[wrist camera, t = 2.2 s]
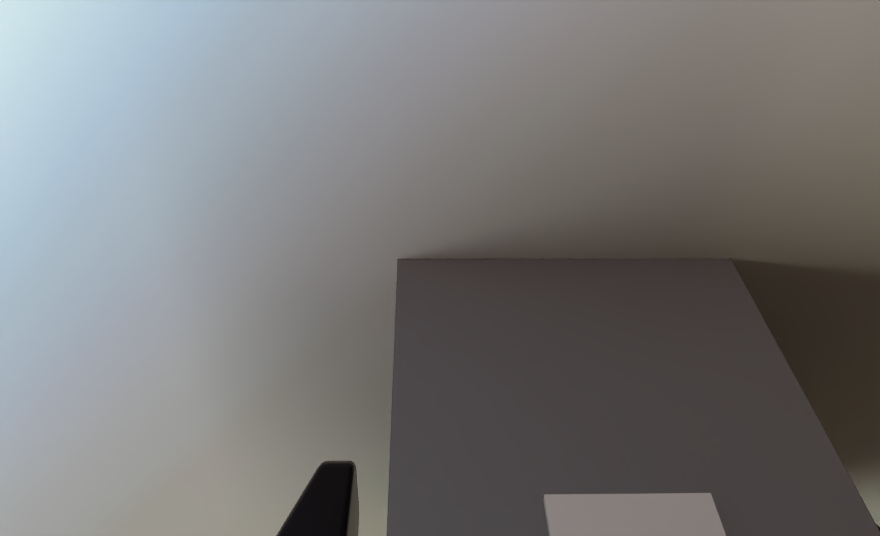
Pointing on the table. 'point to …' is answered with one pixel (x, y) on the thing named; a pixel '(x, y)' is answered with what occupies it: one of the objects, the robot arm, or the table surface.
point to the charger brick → (601, 406)
